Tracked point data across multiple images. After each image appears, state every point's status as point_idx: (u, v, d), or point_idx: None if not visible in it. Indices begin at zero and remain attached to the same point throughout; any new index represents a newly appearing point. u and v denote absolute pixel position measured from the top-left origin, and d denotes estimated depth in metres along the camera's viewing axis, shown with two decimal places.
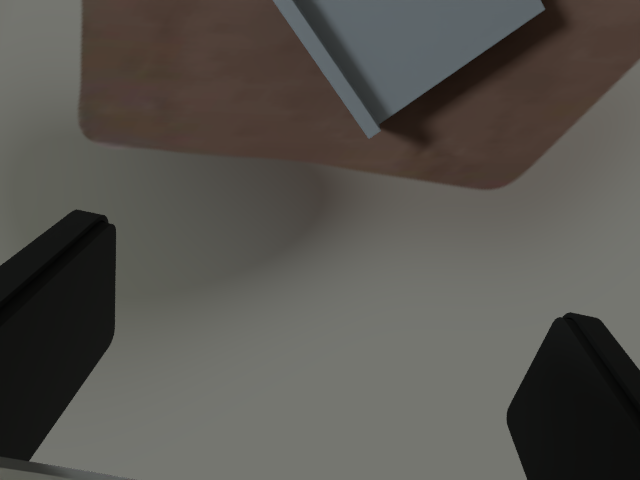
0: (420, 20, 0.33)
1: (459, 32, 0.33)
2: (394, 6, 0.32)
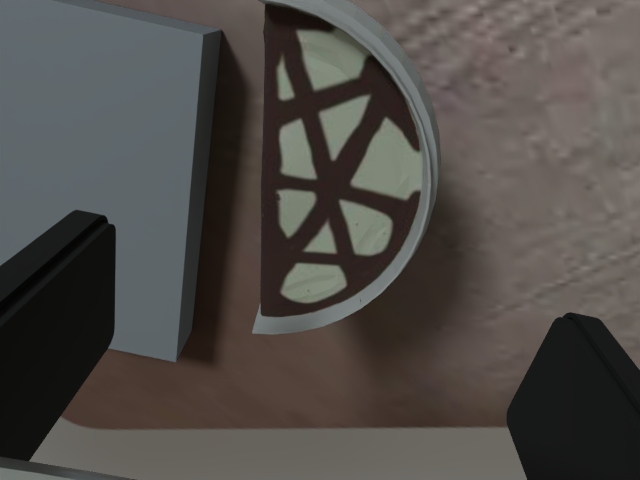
0: None
1: None
2: None
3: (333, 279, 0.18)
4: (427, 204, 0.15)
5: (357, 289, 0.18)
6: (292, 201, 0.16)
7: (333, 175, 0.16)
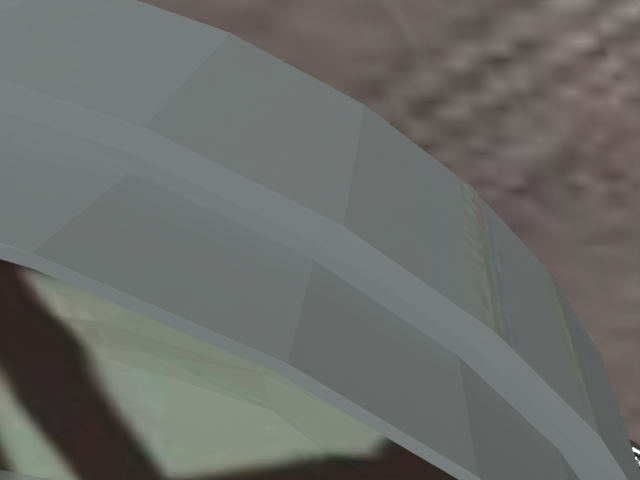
0: None
1: None
2: None
3: None
4: None
5: None
6: None
7: None
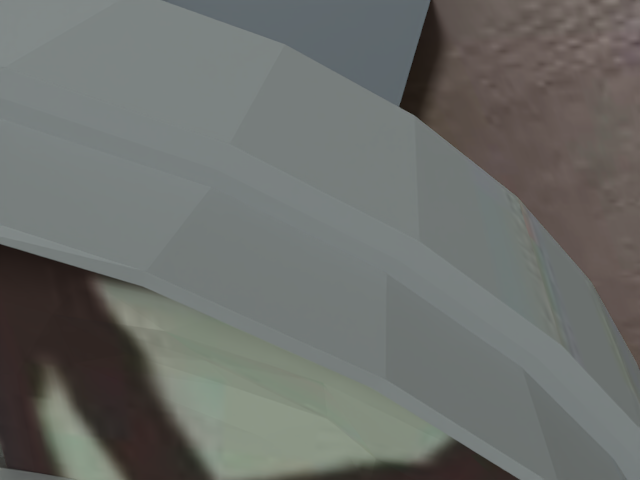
0: None
1: None
2: None
3: None
4: None
5: None
6: None
7: None
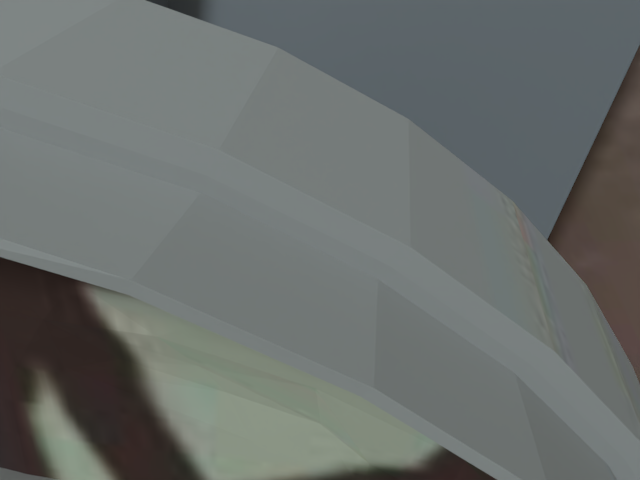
0: None
1: None
2: None
3: None
4: None
5: None
6: None
7: None
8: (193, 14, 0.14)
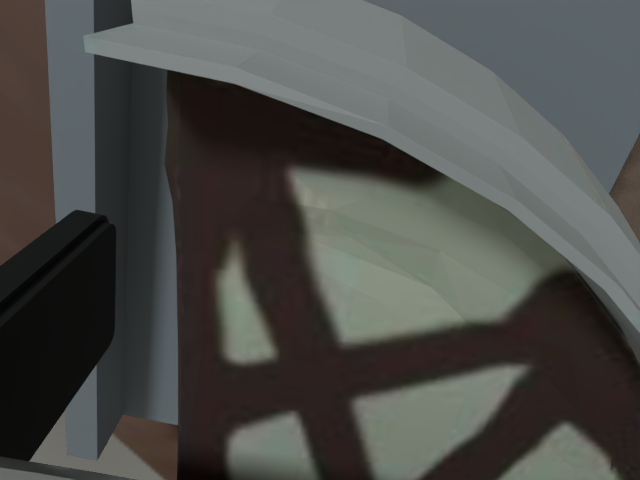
0: None
1: None
2: None
3: None
4: None
5: None
6: None
7: None
8: None
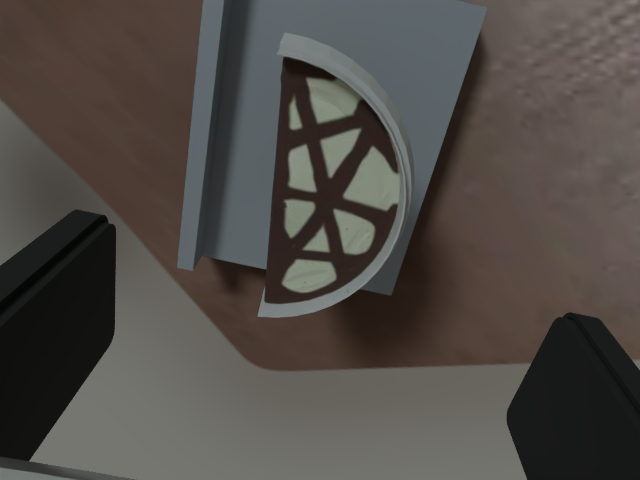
0: None
1: None
2: None
3: (325, 273, 0.22)
4: (403, 214, 0.19)
5: (345, 282, 0.22)
6: (295, 209, 0.20)
7: (329, 189, 0.20)
8: (241, 40, 0.26)
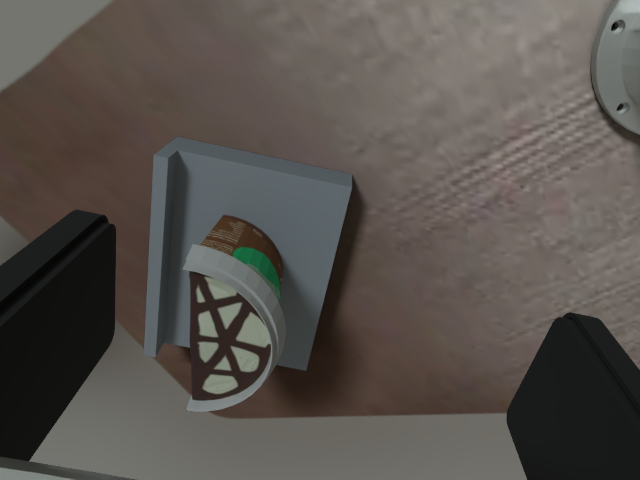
0: None
1: None
2: None
3: (230, 382, 0.33)
4: (271, 354, 0.30)
5: (243, 388, 0.33)
6: (205, 347, 0.31)
7: (226, 335, 0.31)
8: (183, 205, 0.37)
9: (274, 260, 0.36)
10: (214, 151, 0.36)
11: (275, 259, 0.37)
